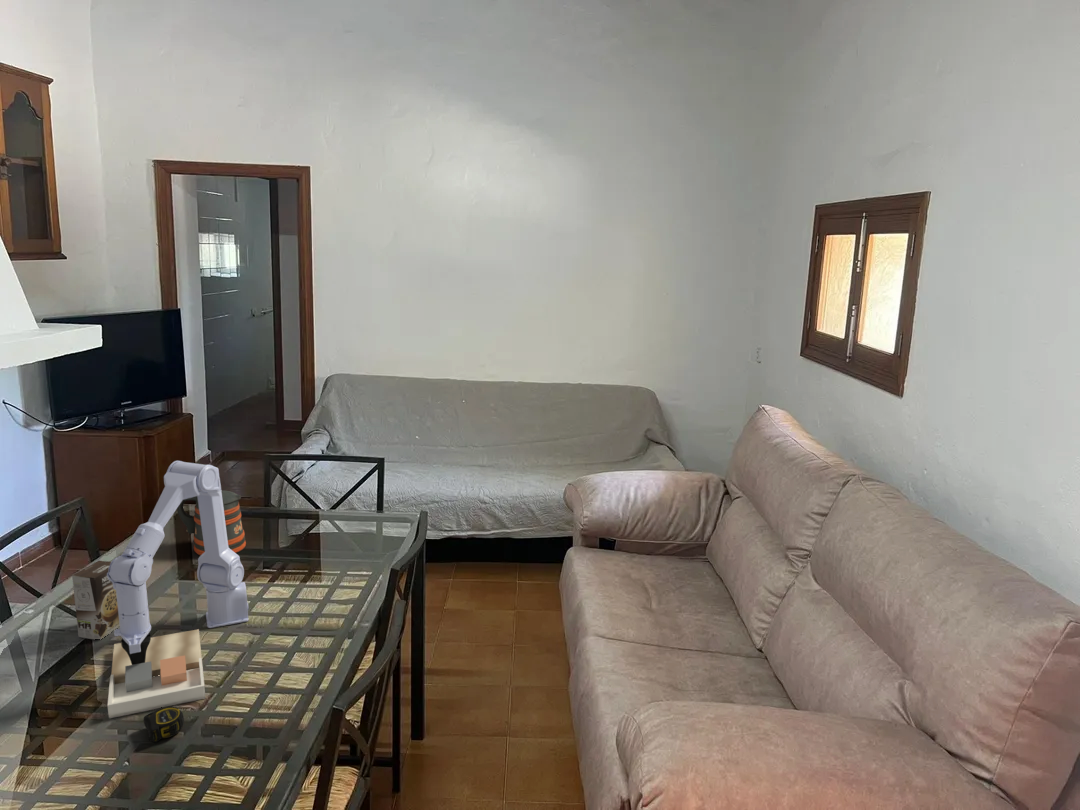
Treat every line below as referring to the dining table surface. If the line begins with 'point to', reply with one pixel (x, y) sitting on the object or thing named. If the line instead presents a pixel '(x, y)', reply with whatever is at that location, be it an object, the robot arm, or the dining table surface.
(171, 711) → the tape measure
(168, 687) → the box
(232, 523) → the beer stein
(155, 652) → the deck
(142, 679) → the tile slate
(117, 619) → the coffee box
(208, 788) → the dining table surface
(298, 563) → the dining table surface
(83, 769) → the dining table surface
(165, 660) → the tile terracotta
